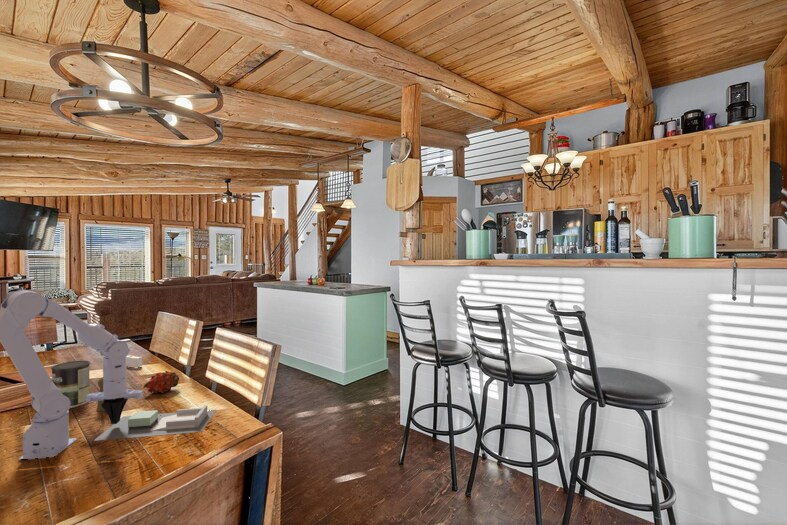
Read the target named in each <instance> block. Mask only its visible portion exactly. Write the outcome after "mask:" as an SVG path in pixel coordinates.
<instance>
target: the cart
mask: <svg viewBox="0 0 787 525" xmlns="http://www.w3.org/2000/svg"><path fill="white" fill-rule="evenodd" d="M158 414H159V409H158V410H157V409H156V410H142V411H136V412H134V414H133V415H130V416H131V417H130V418H129V419H128V428H129V429H132V428H133V427H136V426H148V427H152V425H153V424H152V423H153V422H154V421H155V422H156V421H158Z"/></svg>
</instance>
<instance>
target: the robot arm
mask: <svg viewBox="0 0 787 525" xmlns="http://www.w3.org/2000/svg"><path fill="white" fill-rule="evenodd" d="M37 316H41V317H45V318H46V317H47V318H53V319H55V320H56V321H58V322H59V323H61V324H63V325H64V326H66V327H67V328H69V329H71V330H72V331H74V332H76V333H77V339H78V340H79V341H80V342H81V343H83V344H85V345H87V347H90V348H91V349H93V350H95V351H97V352H98V353H99V355H101V356H102V358H103V359H102V362H103V366H102V378H103V392H100V391H99V392H92V393H89V395H87V396H86V402H87V403H91V402H96V401H97V402H98V401H99V400H104V402H103V403H102V407H103V408H104V409H105V411H104V412H106V414H107V415H108V418H109V421H110V424H111V425H113V424H117V423H118V422H119V421H120V419H121V418H122V413H123V410H124V407H125V405H126V404H127V402H128V400H129V399H137V400H138V399H141V398H143V397H144V390H137V389H128V388H127V385H128V384H127V378H128V377H127V376H128V375H127V373H128V372H127V368H128V367H126V356H129V354H130V351H131V348H129V345H128V343H127V342H125V341H123V340H120V339H119V336H118V335H117V334H112V333H111V332H110V331H108V330H106V329H105V328H106V326H104V324H97V323H87V322H86V321H84V320H83V319H82V318H80V317H78V316H77V315H76V314H74V313H73V312H72V311H70V310H69V309H67V308H66V307H64V306H63V305H61V304H60V303H58V302H57V301H55V300H53V299H50V298H48V297H45V296H44V295H42V294H41V293H38V292H35V291H31V290H28V289H20V290H16V291H15V290H14V291H13V292H11V293H10V294H9V295H8V296H6V298H5V299H4V300H3V301H2V303H1V304H0V343H1V345H2V346H3V348H4V350H5V352H6V354H7V356H8V357H9V358H10V360H11V362H12V363H13V366H14V367H15V369H16V370H17V372H18V373H19V375H20V377H21V379H22V380H23V382H24V384H25V385H26V387H27V389H28V392H29V394H30V396H31V406H32V409H33V410H35V411H36V412H35V413H34V415H33V417H32V422H31V424H30V426H29V427H28V429H26V430H25V431H24V433H23V435H22V456H20V457H19V458H18V460H19V459H28V460H36V459H35V458H38V459H46V457H49V458H55V457H56V456H58V455H59V454H60V453H62V452H63V451H64V450H65V449H66V448H69V447H70V446H71V445H72V444H73V443H75V442H76V441H78V438H76V437H75V438H70V427H69V426H70V424H69V423H70V418H69V417H70V414H69V413H70V412H69V410H70V409H71V408H70V405H71V402H70V400H69V398H68V397H66V396H64V395H63V394H61V392H60V391H59V390H58V388H57V387H56V386H55V384H54V383H53V382H52V377H51V376H50V374H48V371H47V369H46V368H45V365H43V362H42V361H41V359H40V357H39V355H38V354H37V352H36V350H35V348H34V347H33V345H32V343H31V341H30V340H29V338H28V336H27V334H26V332H25V329H26V328H27V327H28V325H29V324H30V322H31V320H33V319H35V318H36V317H37ZM58 453H59V454H58ZM54 456H55V457H54Z"/></svg>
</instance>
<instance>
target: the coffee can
mask: <svg viewBox="0 0 787 525" xmlns="http://www.w3.org/2000/svg"><path fill="white" fill-rule="evenodd" d="M90 362H91V361H89V360H74V361H71V360H70V361H67V362H62V363H61V362H60V363H57V364H54V365H53V366H51V367H50V368H51V380H52V382H53V383H54V384H55V386H56V387H57V388H58V390H59V391H60V392H61V394H63V395H64V396H66V397H68V398H69V400H70V402H71V405H70V408H69V409H72V408H77V407H80V406H83V405H85V404H87V403H88V402H86V396H87V395H89V394H90V364H91V363H90Z"/></svg>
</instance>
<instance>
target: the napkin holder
mask: <svg viewBox="0 0 787 525" xmlns="http://www.w3.org/2000/svg"><path fill="white" fill-rule="evenodd" d="M126 366H129V367H140V366H142V367H143V357H142V356H136V355H127V356H126ZM129 367H128V368H129Z"/></svg>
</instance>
